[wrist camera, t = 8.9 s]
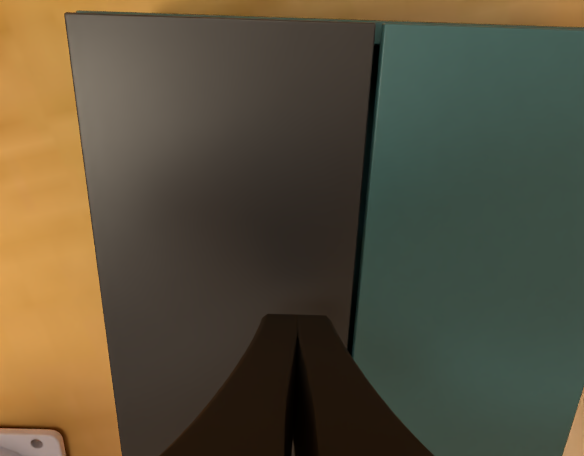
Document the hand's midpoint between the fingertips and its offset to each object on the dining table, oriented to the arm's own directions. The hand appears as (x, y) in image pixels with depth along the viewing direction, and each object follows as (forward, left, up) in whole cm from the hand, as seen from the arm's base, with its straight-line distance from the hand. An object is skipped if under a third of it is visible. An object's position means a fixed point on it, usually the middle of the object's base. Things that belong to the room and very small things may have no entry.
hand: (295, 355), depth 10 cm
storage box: (+2, 0, -8) cm, 9 cm away
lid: (-2, 0, -3) cm, 3 cm away
